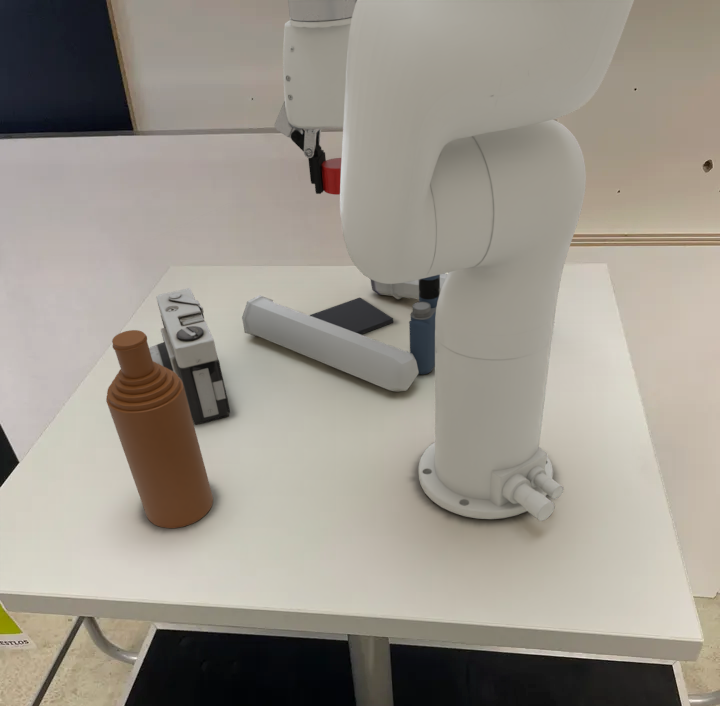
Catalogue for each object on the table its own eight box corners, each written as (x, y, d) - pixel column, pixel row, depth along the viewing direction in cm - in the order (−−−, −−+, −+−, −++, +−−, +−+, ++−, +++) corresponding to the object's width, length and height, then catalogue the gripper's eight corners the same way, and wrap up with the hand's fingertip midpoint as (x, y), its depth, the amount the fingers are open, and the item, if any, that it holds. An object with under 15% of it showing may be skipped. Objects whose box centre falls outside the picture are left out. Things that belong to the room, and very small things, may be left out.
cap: (346, 180, 86) (344, 155, 85) (363, 189, 84) (361, 163, 82) (317, 188, 85) (315, 162, 83) (333, 197, 82) (331, 171, 81)
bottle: (226, 502, 69) (184, 334, 57) (170, 538, 65) (113, 367, 54) (188, 475, 72) (141, 311, 61) (133, 507, 69) (72, 341, 58)
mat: (393, 322, 94) (393, 318, 94) (341, 342, 91) (341, 337, 91) (360, 301, 99) (359, 297, 99) (310, 318, 96) (309, 314, 96)
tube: (430, 350, 80) (274, 293, 93) (402, 356, 76) (243, 296, 89) (421, 394, 83) (270, 333, 96) (394, 403, 79) (240, 338, 92)
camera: (143, 372, 88) (120, 297, 82) (209, 357, 90) (192, 282, 84) (159, 434, 78) (135, 353, 72) (233, 415, 80) (216, 335, 74)
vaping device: (443, 355, 87) (444, 259, 79) (428, 377, 83) (427, 279, 76) (423, 351, 88) (422, 257, 80) (407, 373, 84) (404, 276, 77)
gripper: (413, -5, 74) (415, 179, 86) (258, 2, 77) (281, 179, 89) (401, 7, 68) (405, 202, 80) (235, 14, 72) (263, 200, 83)
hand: (340, 188), depth 84 cm, fingers closed on cap, 3 cm apart
